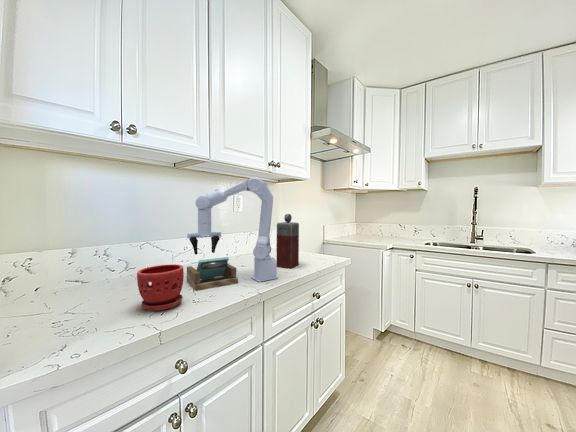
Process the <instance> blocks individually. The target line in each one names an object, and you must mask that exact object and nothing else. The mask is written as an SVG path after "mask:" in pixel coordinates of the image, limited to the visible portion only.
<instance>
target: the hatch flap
mask: <svg viewBox="0 0 576 432" xmlns="http://www.w3.org/2000/svg"><path fill="white" fill-rule="evenodd" d="M229 260H230V258H229V256H225V257H217V258H208V259H207V258H206V259H199V260H198V263H197V265H196V268H195V269H196V270H197V271H198V272H199V273H200V280H202V279H207V278H213V277H214V278H218V277H222V276H223V273H224V271H225V268H226V267H227V265H228V264H229V263H228V262H229ZM214 278H213V279H214ZM207 280H208V279H207Z"/></svg>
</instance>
